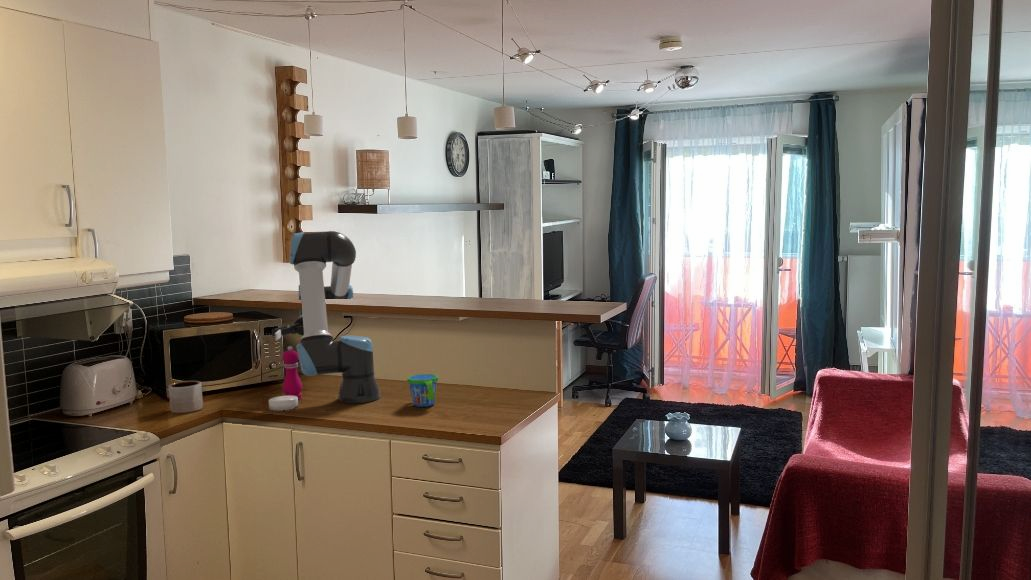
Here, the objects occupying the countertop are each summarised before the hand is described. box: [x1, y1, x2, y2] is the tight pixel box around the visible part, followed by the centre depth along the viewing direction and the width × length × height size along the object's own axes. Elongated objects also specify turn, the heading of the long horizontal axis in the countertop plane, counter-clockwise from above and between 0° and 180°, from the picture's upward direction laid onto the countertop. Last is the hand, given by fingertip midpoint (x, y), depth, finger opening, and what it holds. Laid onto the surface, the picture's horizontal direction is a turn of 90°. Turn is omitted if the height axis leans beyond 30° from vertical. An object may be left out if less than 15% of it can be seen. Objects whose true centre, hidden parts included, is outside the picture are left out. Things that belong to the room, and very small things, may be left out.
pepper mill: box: [281, 345, 304, 400], centre depth 289 cm, size 7×7×20 cm
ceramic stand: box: [268, 395, 299, 412], centre depth 278 cm, size 10×10×3 cm
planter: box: [168, 380, 204, 414], centre depth 278 cm, size 11×11×10 cm
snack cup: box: [406, 373, 439, 408], centre depth 274 cm, size 16×10×10 cm
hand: (294, 336), depth 295 cm, fingers open, 13 cm apart
